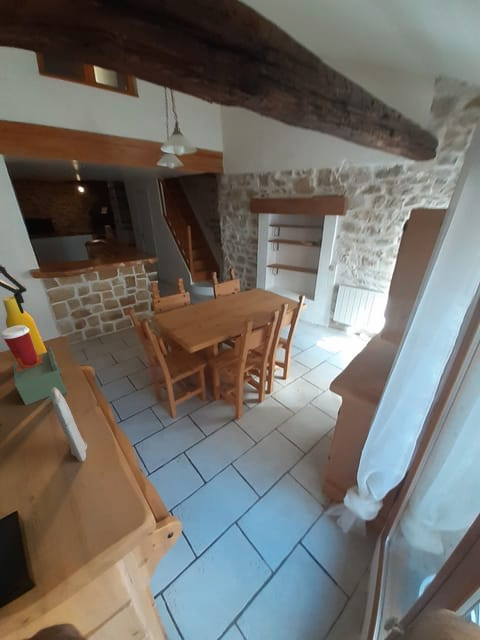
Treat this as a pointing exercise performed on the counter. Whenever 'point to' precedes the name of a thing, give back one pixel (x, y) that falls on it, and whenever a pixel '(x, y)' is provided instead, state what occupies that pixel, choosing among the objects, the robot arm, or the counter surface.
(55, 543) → the counter surface
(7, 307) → the yellow bottle
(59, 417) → the tall pale column
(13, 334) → the paper cup
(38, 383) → the sage green crate
